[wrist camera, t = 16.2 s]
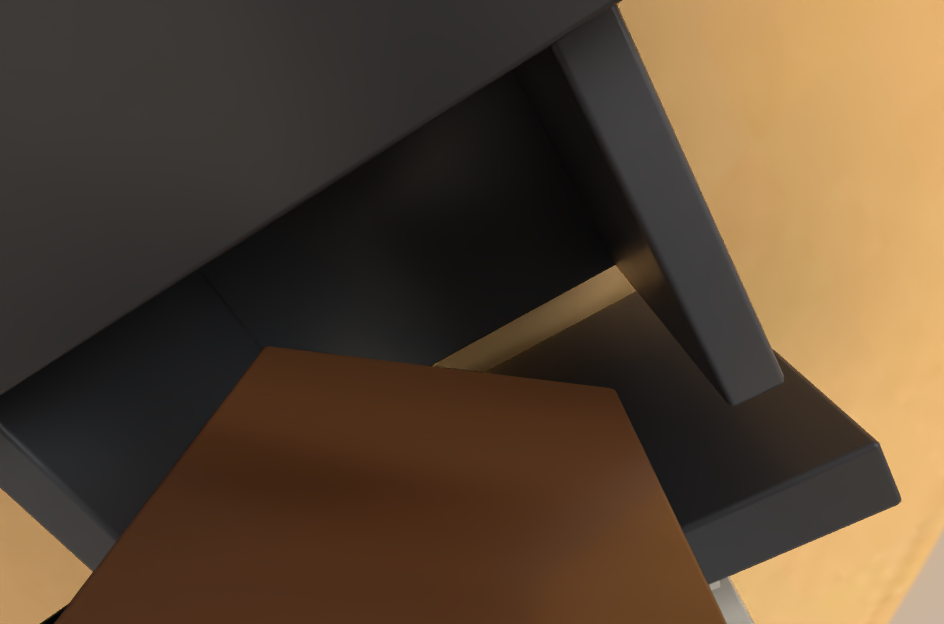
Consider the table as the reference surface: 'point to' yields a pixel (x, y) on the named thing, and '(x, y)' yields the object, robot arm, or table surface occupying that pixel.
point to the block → (403, 508)
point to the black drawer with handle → (479, 318)
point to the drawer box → (207, 131)
